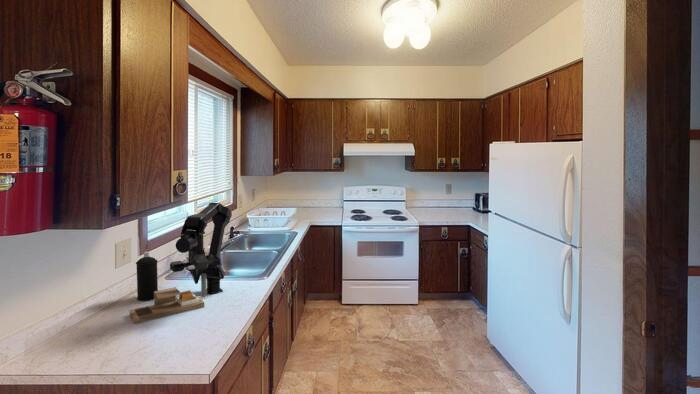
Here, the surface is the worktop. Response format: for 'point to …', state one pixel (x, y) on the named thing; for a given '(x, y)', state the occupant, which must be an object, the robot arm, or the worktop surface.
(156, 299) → the tan piece
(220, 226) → the robot arm
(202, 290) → the sled
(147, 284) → the aerosol can
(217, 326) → the worktop surface
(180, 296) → the block
